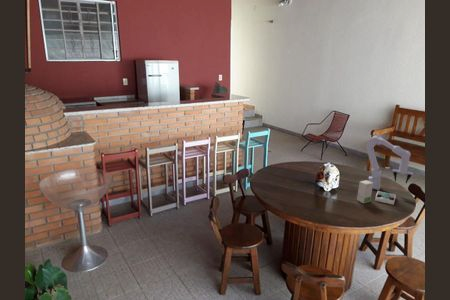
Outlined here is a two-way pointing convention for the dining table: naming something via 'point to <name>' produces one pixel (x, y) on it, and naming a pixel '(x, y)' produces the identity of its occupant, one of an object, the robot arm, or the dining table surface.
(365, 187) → the skincare box
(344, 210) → the dining table surface
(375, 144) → the robot arm
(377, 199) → the white square frame
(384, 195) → the ball
